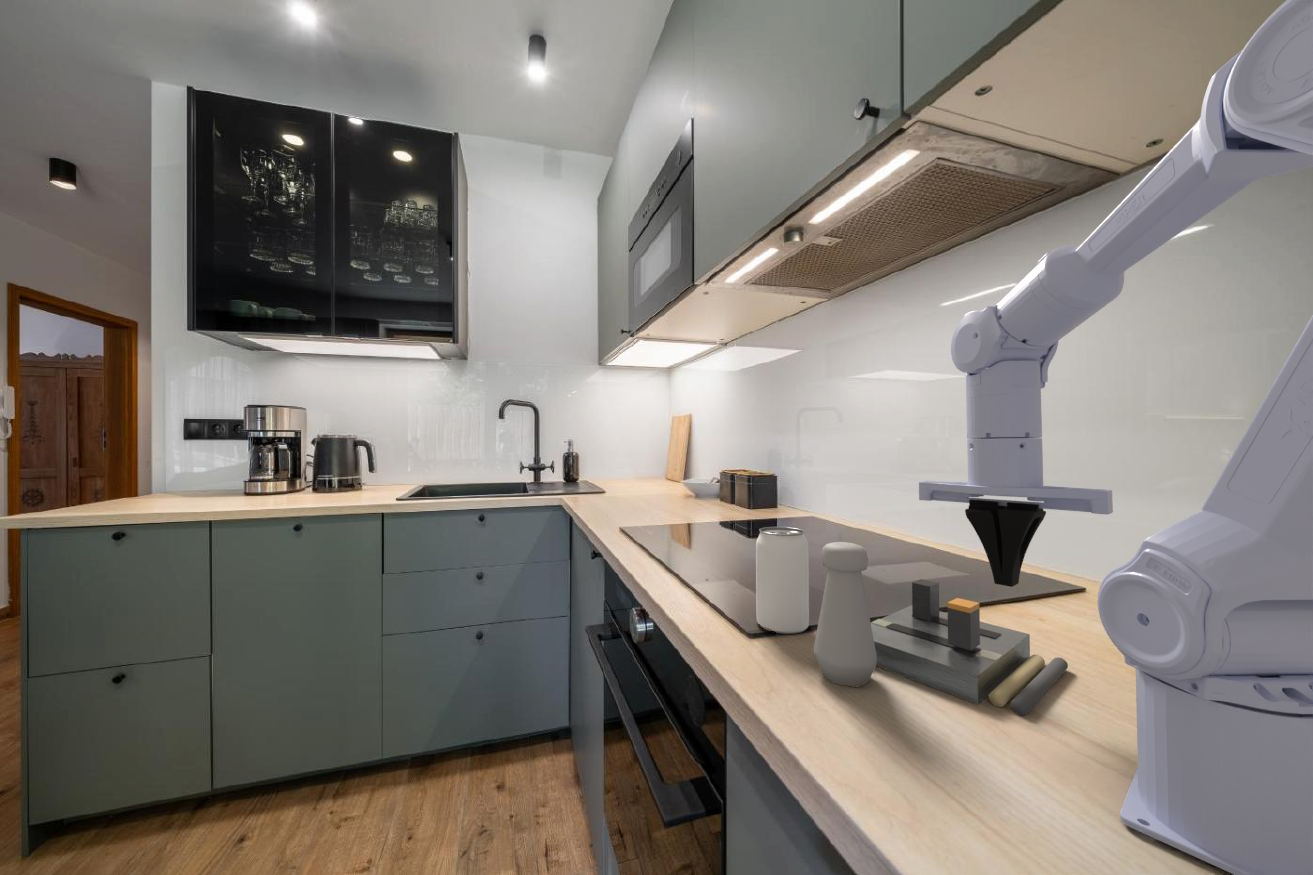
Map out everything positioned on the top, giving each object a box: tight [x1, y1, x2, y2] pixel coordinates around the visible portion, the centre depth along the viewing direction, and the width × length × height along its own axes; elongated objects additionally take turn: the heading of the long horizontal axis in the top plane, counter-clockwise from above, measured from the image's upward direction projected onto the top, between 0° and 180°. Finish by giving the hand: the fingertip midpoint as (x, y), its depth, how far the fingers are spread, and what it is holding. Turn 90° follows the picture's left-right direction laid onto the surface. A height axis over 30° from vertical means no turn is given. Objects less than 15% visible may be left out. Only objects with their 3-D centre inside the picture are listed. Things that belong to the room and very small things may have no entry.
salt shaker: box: [813, 541, 877, 688], centre depth 46 cm, size 6×6×13 cm
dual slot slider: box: [870, 578, 1031, 705], centre depth 50 cm, size 12×15×7 cm
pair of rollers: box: [988, 654, 1069, 716], centre depth 44 cm, size 3×14×1 cm, turn 128°
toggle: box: [947, 597, 981, 651], centre depth 47 cm, size 2×2×4 cm
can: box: [755, 526, 810, 635], centre depth 59 cm, size 6×6×12 cm
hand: (1006, 583), depth 44 cm, fingers closed
